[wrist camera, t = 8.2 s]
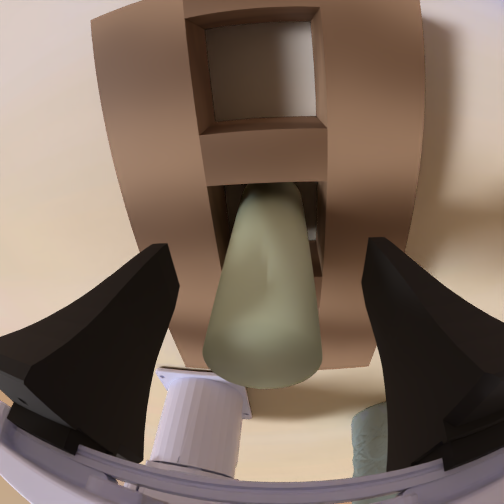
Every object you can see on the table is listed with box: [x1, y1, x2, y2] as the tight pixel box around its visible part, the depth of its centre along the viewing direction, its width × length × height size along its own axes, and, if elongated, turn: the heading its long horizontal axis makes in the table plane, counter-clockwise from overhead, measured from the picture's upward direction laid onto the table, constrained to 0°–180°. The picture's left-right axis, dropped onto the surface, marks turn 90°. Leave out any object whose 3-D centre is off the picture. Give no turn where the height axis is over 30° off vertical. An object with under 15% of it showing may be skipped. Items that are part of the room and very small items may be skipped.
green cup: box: [351, 402, 398, 504], centre depth 23 cm, size 10×10×12 cm
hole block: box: [91, 0, 425, 370], centre depth 13 cm, size 20×12×3 cm, turn 5°
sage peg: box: [202, 182, 322, 389], centre depth 11 cm, size 3×3×9 cm
